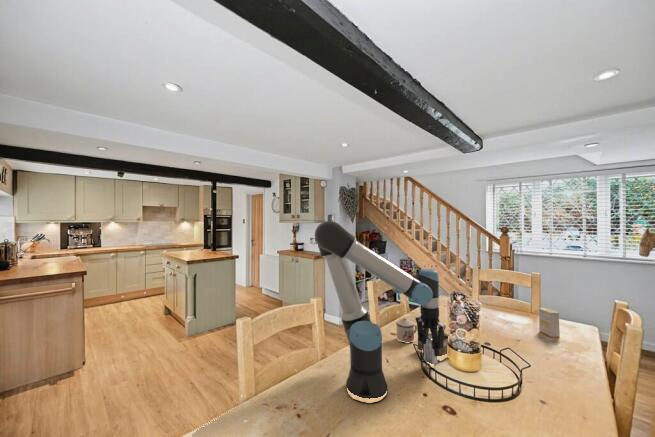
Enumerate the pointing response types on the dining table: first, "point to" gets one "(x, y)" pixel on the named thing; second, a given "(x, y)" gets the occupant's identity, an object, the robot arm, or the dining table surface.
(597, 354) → the dining table surface
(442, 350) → the bore block
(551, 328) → the supplement box
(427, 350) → the pin
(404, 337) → the teacup with lid
